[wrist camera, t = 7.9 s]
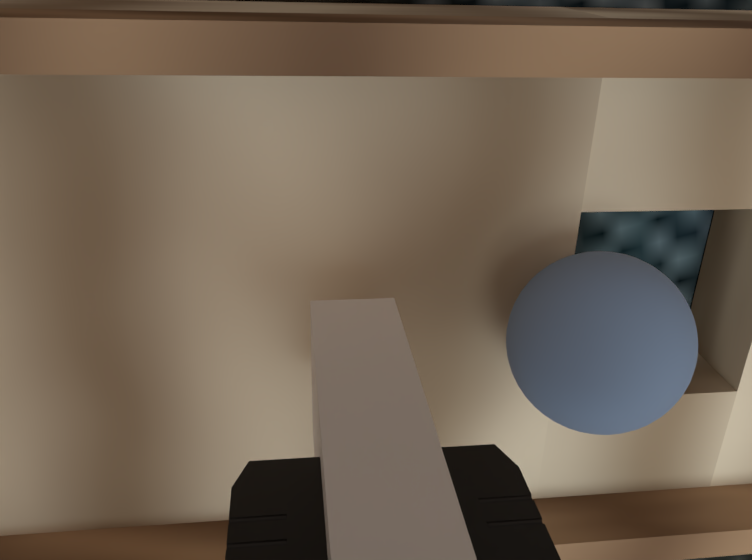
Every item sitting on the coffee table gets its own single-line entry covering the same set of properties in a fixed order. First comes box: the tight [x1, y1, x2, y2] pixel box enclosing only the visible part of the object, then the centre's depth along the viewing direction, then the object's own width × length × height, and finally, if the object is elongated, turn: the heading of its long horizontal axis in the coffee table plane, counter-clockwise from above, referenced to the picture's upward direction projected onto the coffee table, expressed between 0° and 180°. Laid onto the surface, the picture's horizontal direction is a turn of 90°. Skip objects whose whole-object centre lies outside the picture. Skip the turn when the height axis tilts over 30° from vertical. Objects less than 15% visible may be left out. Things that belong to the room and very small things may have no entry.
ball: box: [506, 251, 698, 435], centre depth 14 cm, size 4×4×4 cm
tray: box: [0, 0, 752, 560], centre depth 15 cm, size 30×12×4 cm, turn 88°
